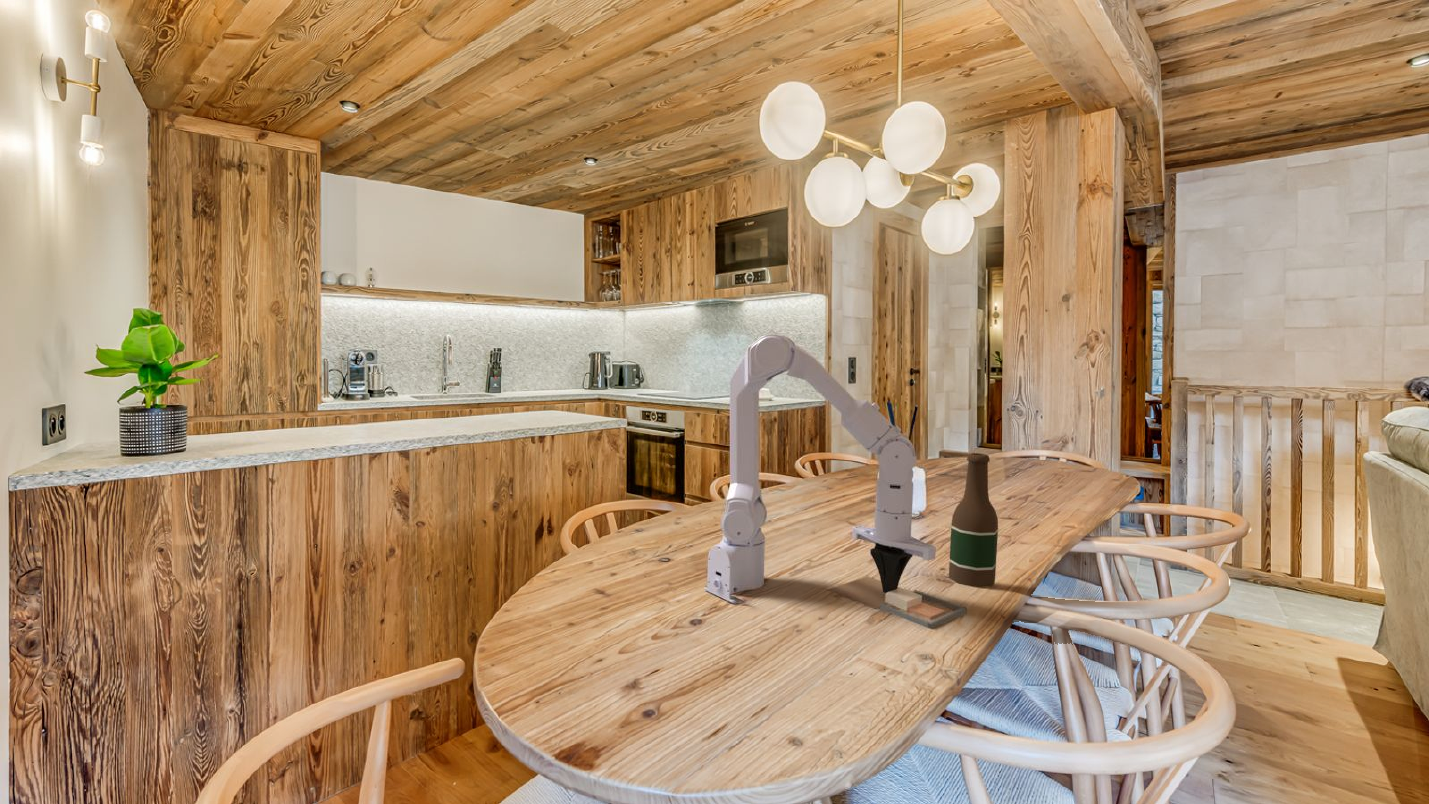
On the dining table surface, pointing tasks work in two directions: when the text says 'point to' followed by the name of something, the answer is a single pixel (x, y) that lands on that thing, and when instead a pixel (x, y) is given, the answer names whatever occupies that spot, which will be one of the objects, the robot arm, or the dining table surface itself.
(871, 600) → the walnut board
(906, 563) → the robot arm
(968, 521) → the beer bottle
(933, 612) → the terracotta tile
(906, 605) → the offwhite tile
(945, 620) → the tray
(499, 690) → the dining table surface
